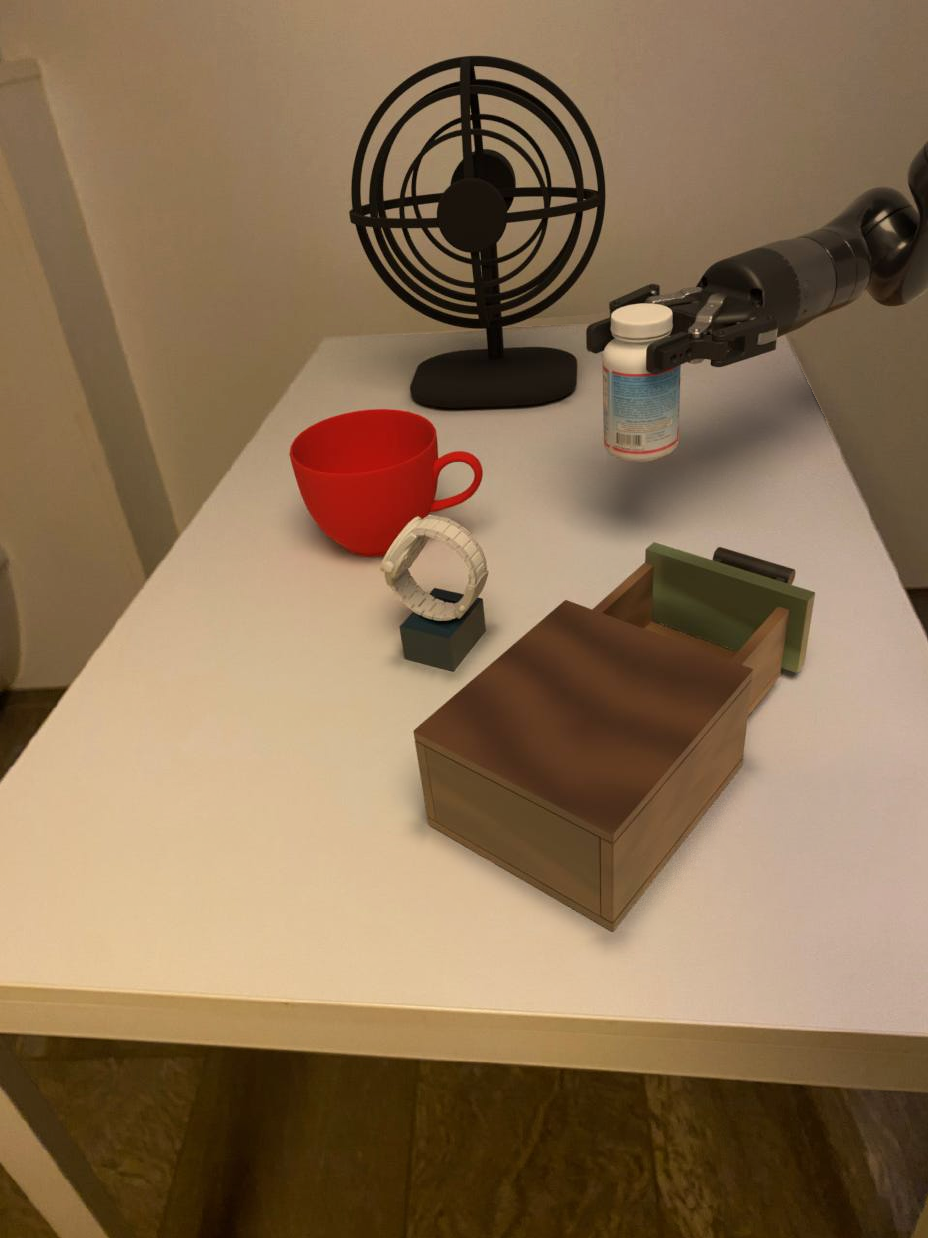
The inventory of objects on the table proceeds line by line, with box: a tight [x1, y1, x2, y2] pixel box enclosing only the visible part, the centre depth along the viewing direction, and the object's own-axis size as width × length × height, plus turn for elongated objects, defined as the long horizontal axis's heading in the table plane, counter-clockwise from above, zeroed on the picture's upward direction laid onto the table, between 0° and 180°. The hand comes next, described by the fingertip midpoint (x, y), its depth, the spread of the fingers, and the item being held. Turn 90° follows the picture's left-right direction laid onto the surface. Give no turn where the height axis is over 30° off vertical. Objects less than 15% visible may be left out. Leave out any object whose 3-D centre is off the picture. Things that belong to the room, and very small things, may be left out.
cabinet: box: [412, 599, 753, 932], centre depth 59 cm, size 16×14×8 cm
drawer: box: [591, 541, 816, 716], centre depth 67 cm, size 19×12×6 cm, turn 141°
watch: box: [379, 514, 490, 672], centre depth 72 cm, size 6×8×11 cm
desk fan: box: [348, 55, 607, 409], centre depth 105 cm, size 27×18×35 cm, turn 84°
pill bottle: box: [601, 304, 682, 462], centre depth 76 cm, size 6×6×11 cm
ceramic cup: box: [289, 408, 484, 557], centre depth 86 cm, size 13×17×10 cm
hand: (618, 350), depth 73 cm, fingers closed on pill bottle, 6 cm apart
